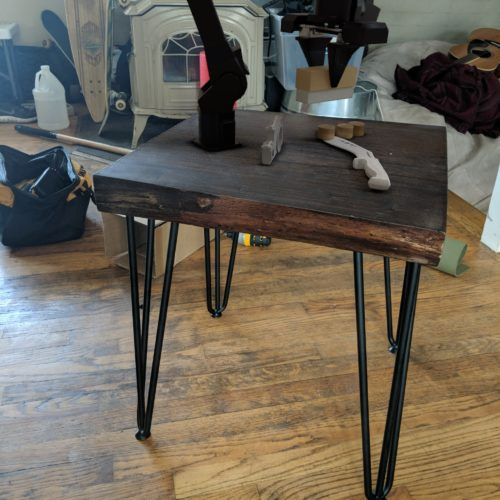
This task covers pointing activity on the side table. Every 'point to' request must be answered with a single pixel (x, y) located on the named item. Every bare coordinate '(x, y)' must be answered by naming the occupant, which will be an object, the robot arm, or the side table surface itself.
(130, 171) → the side table surface
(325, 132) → the tan squat cylinder
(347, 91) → the oblong tan box
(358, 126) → the crumb
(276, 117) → the garden wall model
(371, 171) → the knife
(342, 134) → the short tan cylinder
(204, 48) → the robot arm
